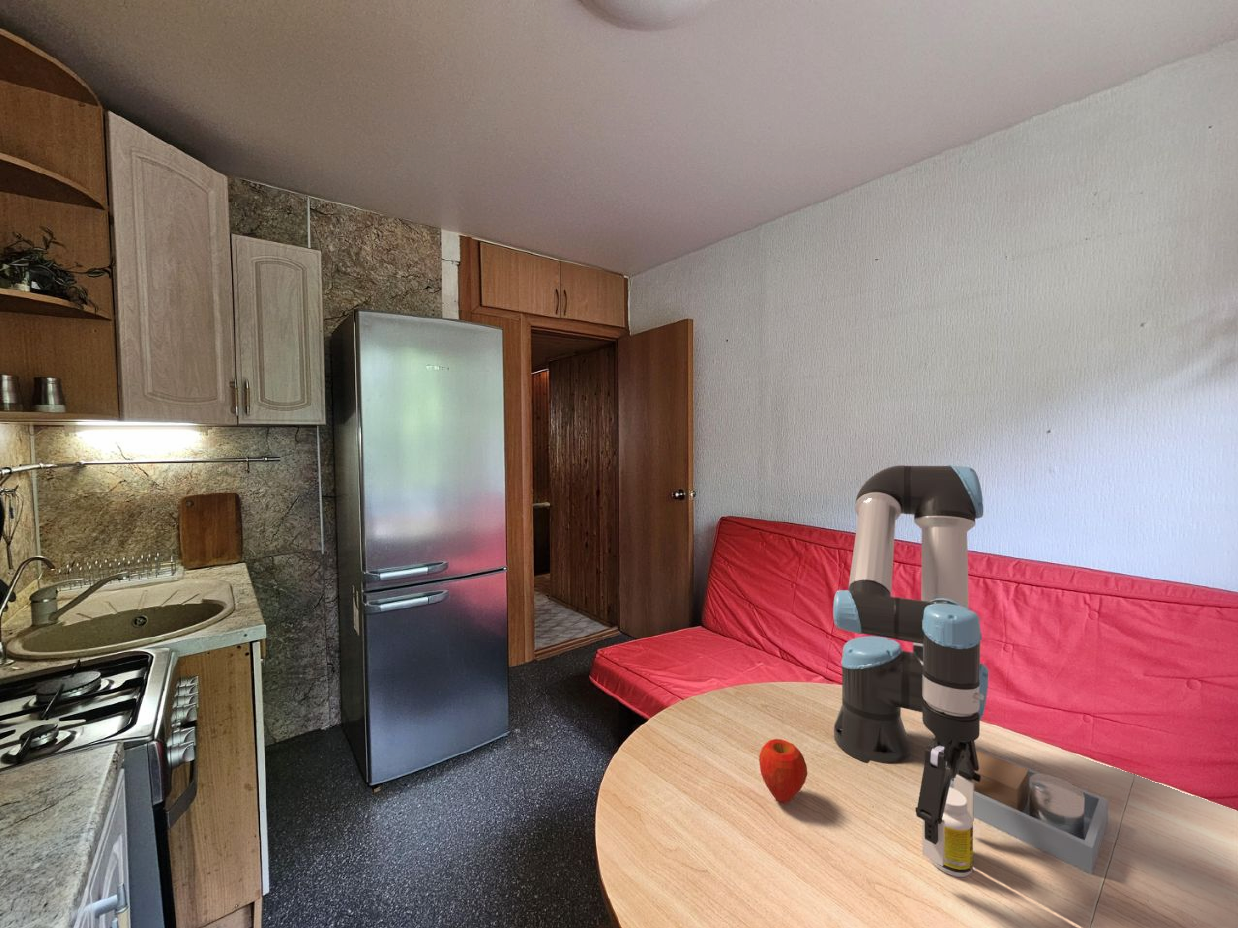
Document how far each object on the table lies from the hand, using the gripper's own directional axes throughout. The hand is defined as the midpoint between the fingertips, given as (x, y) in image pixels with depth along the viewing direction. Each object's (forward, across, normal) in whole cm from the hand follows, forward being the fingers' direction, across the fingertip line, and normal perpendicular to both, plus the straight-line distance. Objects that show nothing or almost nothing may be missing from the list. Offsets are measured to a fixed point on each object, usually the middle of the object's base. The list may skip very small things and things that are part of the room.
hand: (949, 836), depth 78 cm
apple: (+5, -8, +25) cm, 27 cm away
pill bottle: (+5, 0, 0) cm, 5 cm away
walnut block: (+3, +21, -1) cm, 22 cm away
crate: (+4, +21, -5) cm, 22 cm away
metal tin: (+3, +21, -9) cm, 24 cm away
